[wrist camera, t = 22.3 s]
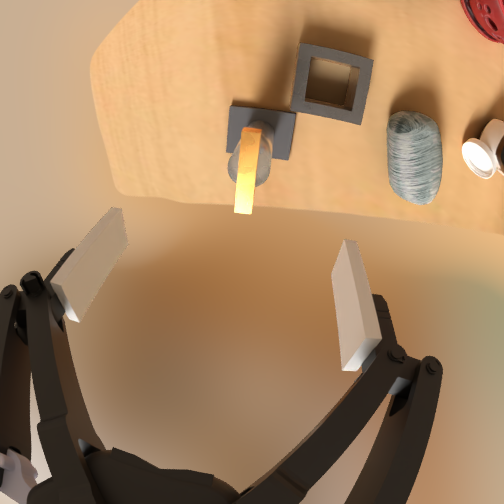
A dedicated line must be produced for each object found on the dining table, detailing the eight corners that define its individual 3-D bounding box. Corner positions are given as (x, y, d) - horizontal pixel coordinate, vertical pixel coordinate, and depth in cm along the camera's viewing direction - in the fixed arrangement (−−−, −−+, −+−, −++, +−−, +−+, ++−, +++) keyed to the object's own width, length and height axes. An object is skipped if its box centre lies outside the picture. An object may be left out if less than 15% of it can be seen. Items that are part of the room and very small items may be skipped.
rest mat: (231, 105, 35) (229, 106, 34) (295, 113, 35) (295, 114, 34) (227, 150, 40) (226, 152, 39) (288, 158, 39) (288, 160, 39)
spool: (371, 105, 30) (431, 139, 24) (413, 98, 31) (467, 128, 25) (363, 185, 40) (407, 225, 34) (402, 169, 42) (444, 203, 36)
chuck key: (242, 158, 39) (222, 210, 27) (248, 105, 34) (227, 129, 22) (270, 161, 39) (263, 215, 27) (277, 108, 34) (274, 135, 22)
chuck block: (297, 45, 29) (299, 42, 25) (362, 60, 29) (373, 60, 25) (289, 105, 34) (290, 110, 30) (351, 118, 34) (360, 125, 30)
